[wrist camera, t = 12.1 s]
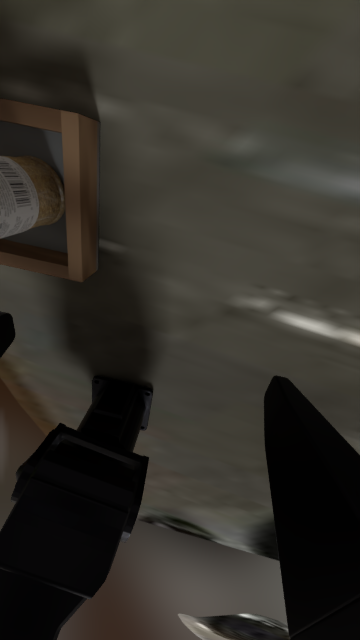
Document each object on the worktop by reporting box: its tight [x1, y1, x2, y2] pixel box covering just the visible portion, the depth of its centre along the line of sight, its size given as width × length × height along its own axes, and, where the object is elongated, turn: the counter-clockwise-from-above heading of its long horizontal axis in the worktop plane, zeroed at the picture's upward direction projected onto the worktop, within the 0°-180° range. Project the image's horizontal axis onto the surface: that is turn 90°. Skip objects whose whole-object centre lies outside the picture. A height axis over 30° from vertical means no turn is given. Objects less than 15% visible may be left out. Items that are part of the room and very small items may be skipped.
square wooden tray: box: [0, 98, 100, 282], centre depth 18 cm, size 10×10×3 cm
